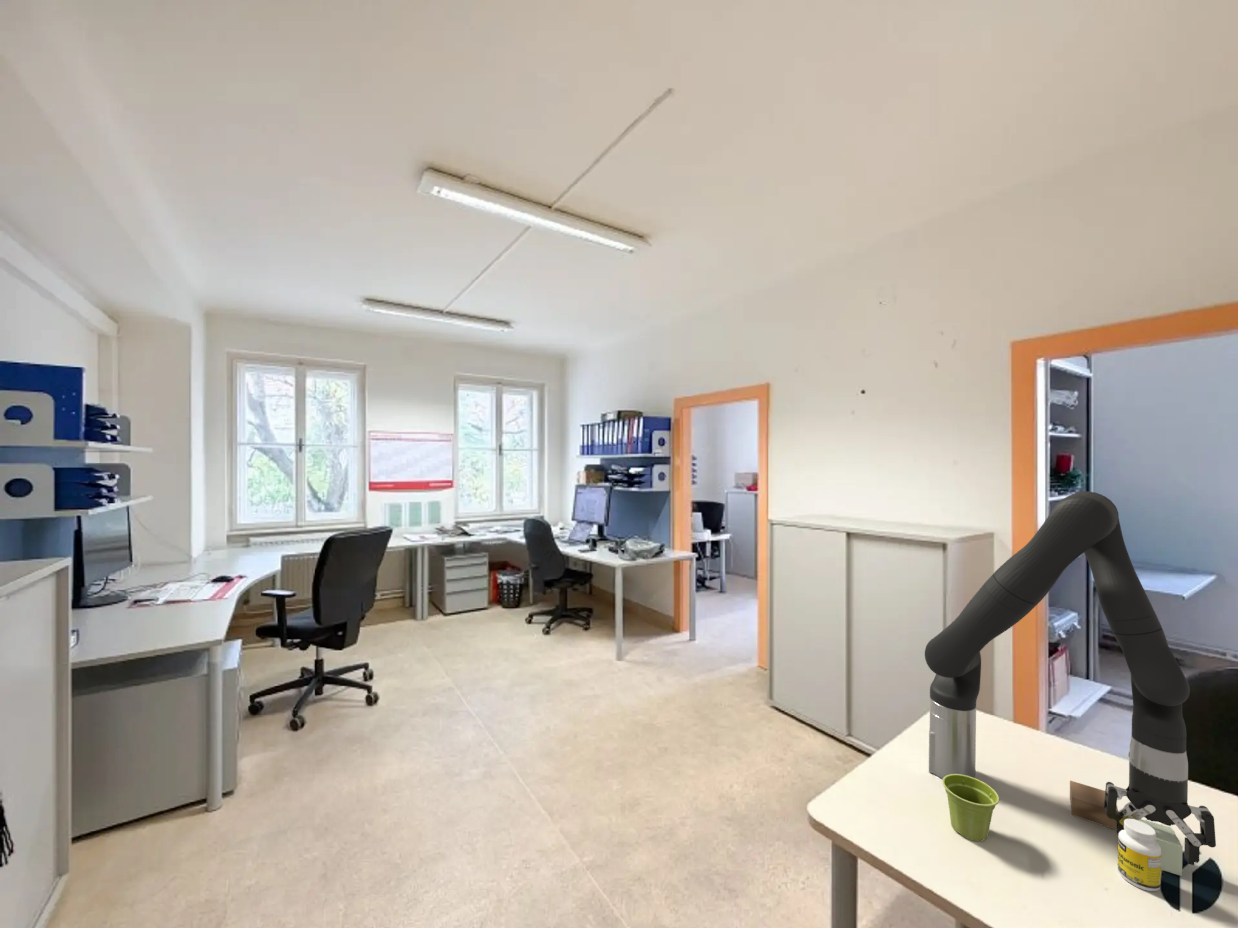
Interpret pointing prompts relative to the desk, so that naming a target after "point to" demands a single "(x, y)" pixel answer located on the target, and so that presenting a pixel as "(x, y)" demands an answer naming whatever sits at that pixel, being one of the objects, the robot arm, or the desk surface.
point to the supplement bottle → (1139, 855)
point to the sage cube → (1168, 848)
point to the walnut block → (1089, 804)
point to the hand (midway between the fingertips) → (1156, 851)
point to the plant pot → (970, 805)
